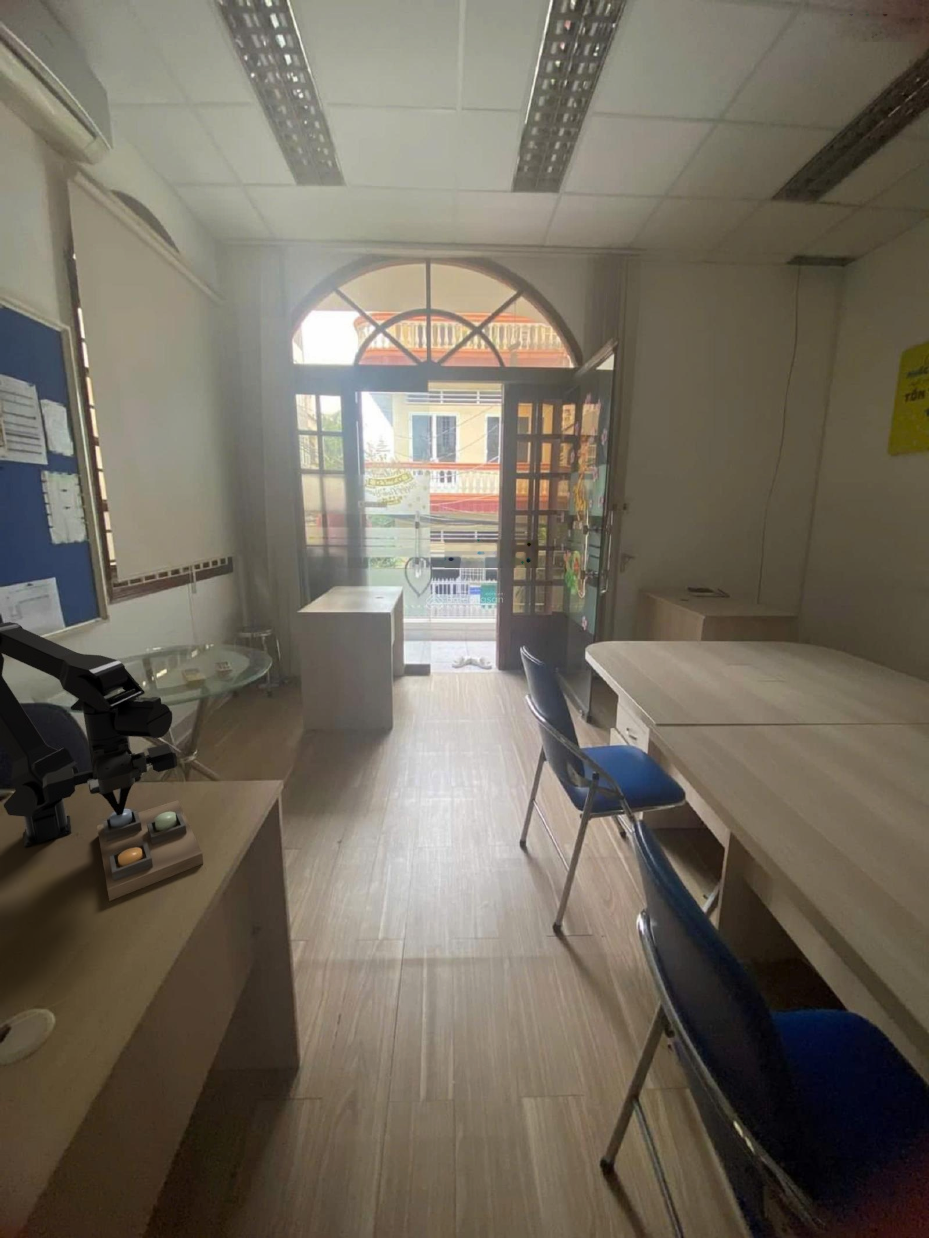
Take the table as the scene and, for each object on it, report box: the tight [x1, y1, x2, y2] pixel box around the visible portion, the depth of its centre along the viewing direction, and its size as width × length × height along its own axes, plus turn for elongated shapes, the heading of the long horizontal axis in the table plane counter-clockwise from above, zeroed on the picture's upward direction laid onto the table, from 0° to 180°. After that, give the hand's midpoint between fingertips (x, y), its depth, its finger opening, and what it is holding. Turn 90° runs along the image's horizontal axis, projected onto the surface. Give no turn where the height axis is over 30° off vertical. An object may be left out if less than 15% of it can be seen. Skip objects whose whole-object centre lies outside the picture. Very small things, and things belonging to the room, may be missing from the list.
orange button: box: [118, 847, 143, 868], centre depth 79 cm, size 3×3×2 cm
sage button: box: [155, 812, 177, 831], centre depth 87 cm, size 3×3×2 cm
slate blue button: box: [109, 808, 132, 828], centre depth 88 cm, size 3×3×2 cm
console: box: [96, 799, 204, 902], centre depth 85 cm, size 20×13×4 cm, turn 40°
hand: (119, 813), depth 87 cm, fingers closed
